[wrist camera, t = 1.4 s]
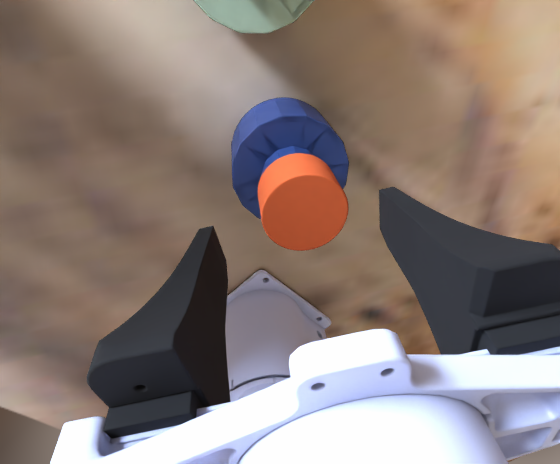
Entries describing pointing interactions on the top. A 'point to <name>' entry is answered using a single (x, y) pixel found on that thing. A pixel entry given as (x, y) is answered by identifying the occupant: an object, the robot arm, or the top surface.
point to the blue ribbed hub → (281, 144)
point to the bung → (301, 202)
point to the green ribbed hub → (254, 13)
